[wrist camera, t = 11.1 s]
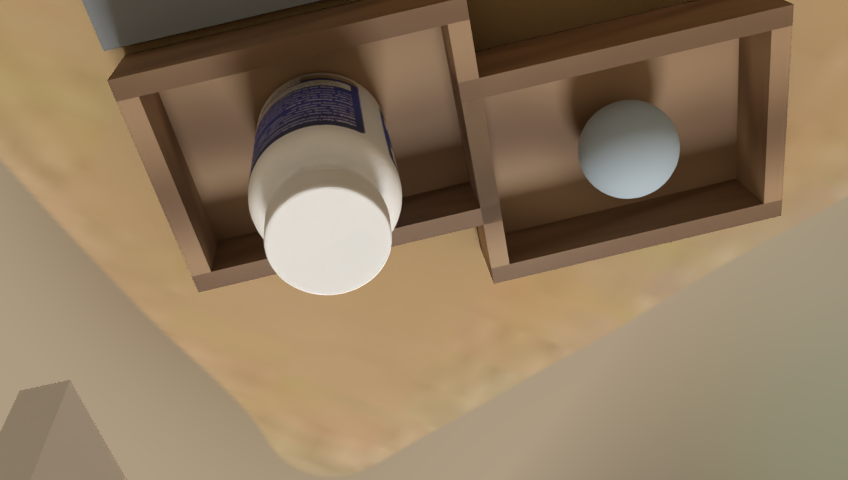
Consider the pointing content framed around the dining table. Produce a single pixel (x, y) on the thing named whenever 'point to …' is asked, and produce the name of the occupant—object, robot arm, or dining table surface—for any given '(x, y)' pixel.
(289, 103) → the pill bottle
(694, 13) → the cradle
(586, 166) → the ball
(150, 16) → the card
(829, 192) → the dining table surface
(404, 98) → the cradle
